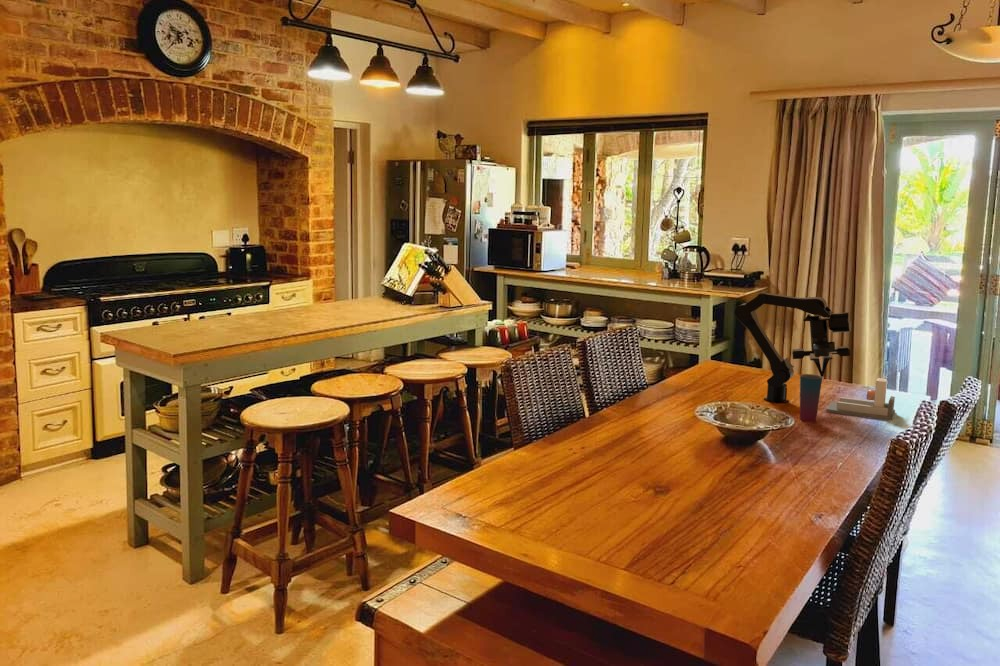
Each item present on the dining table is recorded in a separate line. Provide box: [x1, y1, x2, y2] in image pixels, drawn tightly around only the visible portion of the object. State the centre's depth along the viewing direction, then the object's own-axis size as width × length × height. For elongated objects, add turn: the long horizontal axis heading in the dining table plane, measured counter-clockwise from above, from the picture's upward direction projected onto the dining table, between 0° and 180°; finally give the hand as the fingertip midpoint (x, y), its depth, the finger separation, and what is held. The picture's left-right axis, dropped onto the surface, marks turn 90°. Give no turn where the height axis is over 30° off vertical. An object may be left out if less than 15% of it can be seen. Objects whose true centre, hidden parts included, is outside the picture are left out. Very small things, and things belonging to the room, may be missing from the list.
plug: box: [866, 377, 888, 407], centre depth 261 cm, size 6×5×11 cm
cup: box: [799, 373, 823, 423], centre depth 254 cm, size 7×7×15 cm
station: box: [825, 395, 896, 422], centre depth 264 cm, size 20×12×6 cm, turn 59°
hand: (822, 376), depth 270 cm, fingers closed
